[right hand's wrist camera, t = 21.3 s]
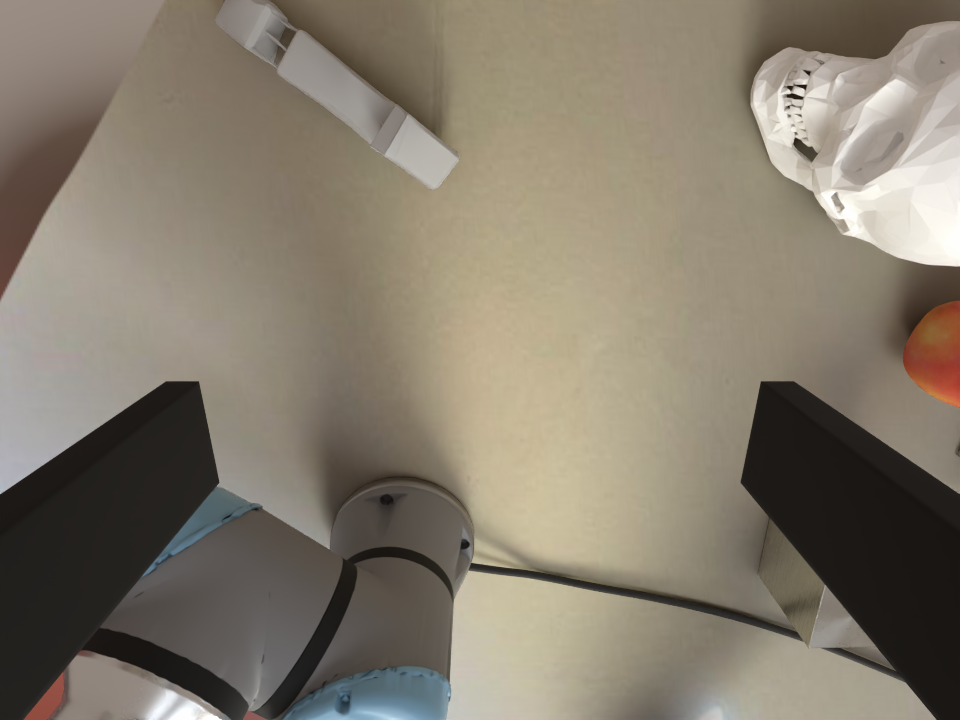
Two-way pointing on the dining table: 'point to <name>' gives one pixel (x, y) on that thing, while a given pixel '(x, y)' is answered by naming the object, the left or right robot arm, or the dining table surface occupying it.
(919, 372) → the apple
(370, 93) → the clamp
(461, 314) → the dining table surface
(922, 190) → the skull
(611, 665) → the dining table surface
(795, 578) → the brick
